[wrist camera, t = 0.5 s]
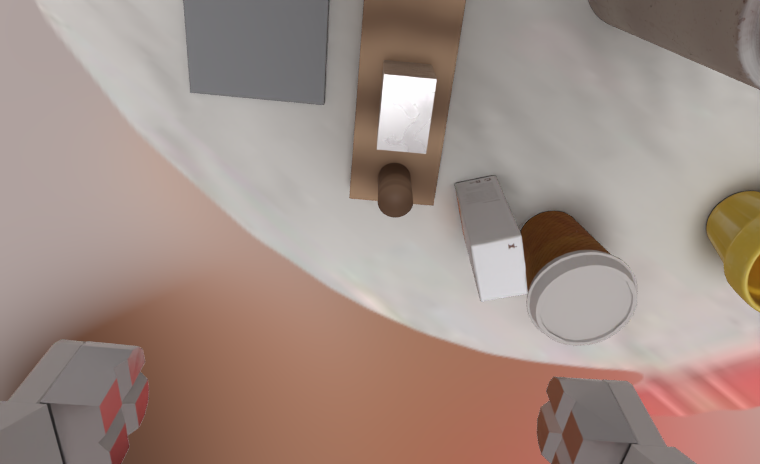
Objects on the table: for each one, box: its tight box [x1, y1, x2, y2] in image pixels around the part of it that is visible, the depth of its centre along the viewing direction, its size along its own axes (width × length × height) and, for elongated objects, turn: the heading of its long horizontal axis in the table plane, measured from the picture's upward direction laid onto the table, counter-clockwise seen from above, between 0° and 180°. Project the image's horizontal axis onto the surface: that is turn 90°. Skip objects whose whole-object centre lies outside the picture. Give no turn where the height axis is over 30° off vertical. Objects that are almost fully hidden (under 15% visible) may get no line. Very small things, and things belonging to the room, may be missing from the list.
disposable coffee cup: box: [520, 211, 638, 346], centre depth 52 cm, size 10×10×12 cm
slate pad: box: [183, 0, 329, 105], centre depth 47 cm, size 12×12×1 cm
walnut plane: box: [349, 0, 466, 217], centre depth 46 cm, size 20×8×8 cm, turn 175°
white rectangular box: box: [377, 60, 437, 154], centre depth 45 cm, size 6×4×5 cm, turn 175°
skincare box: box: [455, 176, 528, 302], centre depth 50 cm, size 6×4×12 cm
